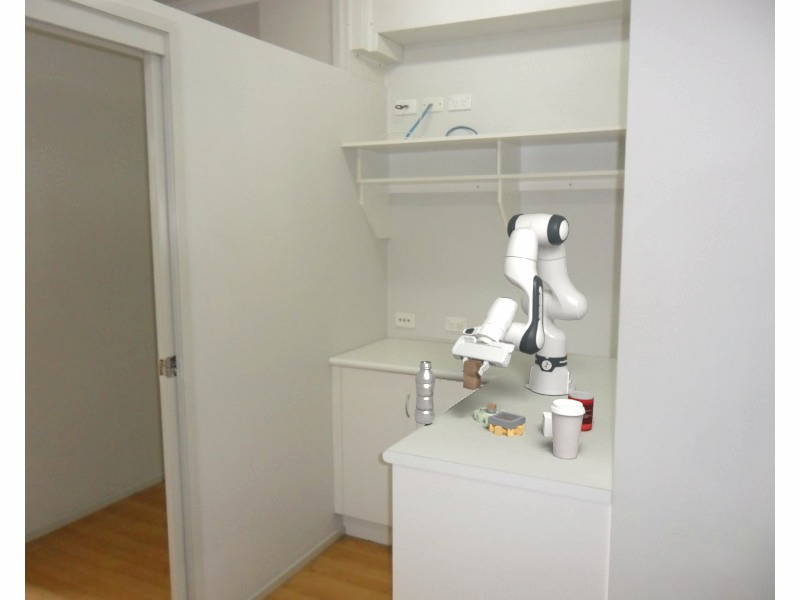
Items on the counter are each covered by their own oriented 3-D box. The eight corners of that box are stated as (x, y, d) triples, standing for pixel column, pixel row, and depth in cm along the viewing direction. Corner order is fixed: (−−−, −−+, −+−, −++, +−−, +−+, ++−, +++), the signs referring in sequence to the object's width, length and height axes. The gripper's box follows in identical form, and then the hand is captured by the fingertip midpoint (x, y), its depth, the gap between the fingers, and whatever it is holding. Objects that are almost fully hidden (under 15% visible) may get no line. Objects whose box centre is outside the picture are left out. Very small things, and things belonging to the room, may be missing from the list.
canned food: (572, 422, 207) (574, 389, 205) (596, 427, 202) (598, 393, 200) (562, 427, 201) (563, 394, 199) (586, 433, 196) (588, 399, 194)
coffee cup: (540, 454, 178) (543, 402, 176) (559, 446, 184) (561, 396, 182) (571, 464, 171) (574, 410, 169) (589, 455, 177) (592, 403, 175)
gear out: (500, 422, 204) (501, 409, 204) (530, 430, 198) (531, 416, 197) (482, 430, 196) (482, 417, 196) (512, 439, 189) (513, 424, 189)
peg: (470, 385, 204) (470, 359, 203) (480, 387, 201) (481, 361, 200) (463, 387, 201) (463, 361, 200) (473, 390, 198) (474, 363, 197)
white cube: (564, 438, 191) (565, 419, 191) (544, 437, 192) (544, 418, 191) (561, 431, 197) (562, 412, 197) (542, 430, 198) (542, 411, 197)
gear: (478, 412, 214) (478, 398, 214) (510, 416, 211) (510, 401, 210) (471, 422, 204) (471, 407, 204) (504, 426, 201) (505, 411, 200)
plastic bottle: (436, 421, 205) (438, 360, 202) (431, 427, 199) (433, 365, 196) (417, 419, 207) (418, 359, 204) (411, 425, 200) (413, 363, 198)
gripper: (520, 348, 201) (503, 384, 195) (467, 339, 215) (449, 373, 209) (513, 336, 197) (495, 373, 191) (459, 328, 211) (441, 362, 205)
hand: (471, 372), depth 200 cm, fingers closed on peg, 4 cm apart
